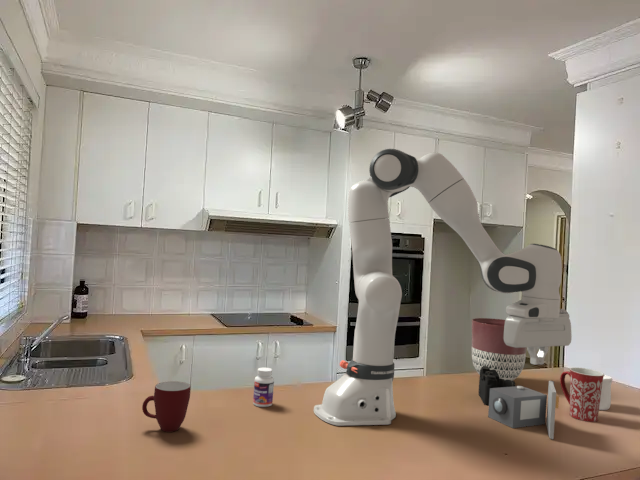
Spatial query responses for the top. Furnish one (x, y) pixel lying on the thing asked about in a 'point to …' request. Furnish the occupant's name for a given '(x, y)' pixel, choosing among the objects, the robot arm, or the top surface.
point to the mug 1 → (169, 404)
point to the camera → (490, 383)
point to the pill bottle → (263, 388)
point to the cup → (605, 393)
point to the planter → (495, 349)
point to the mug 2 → (583, 393)
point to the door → (551, 408)
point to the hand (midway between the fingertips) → (537, 364)
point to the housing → (517, 406)
